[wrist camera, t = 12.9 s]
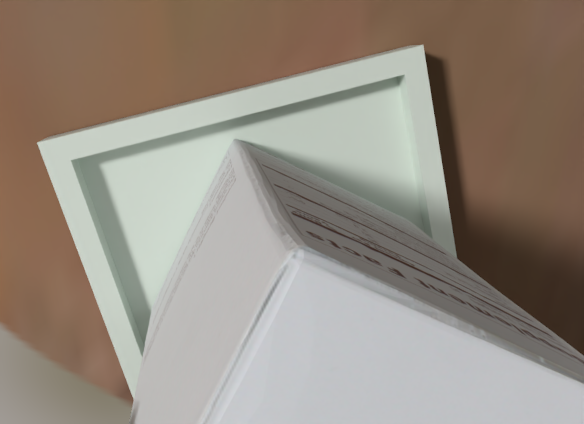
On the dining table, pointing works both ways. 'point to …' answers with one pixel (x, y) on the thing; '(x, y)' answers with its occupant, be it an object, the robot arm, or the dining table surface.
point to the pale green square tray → (209, 154)
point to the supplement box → (336, 318)
